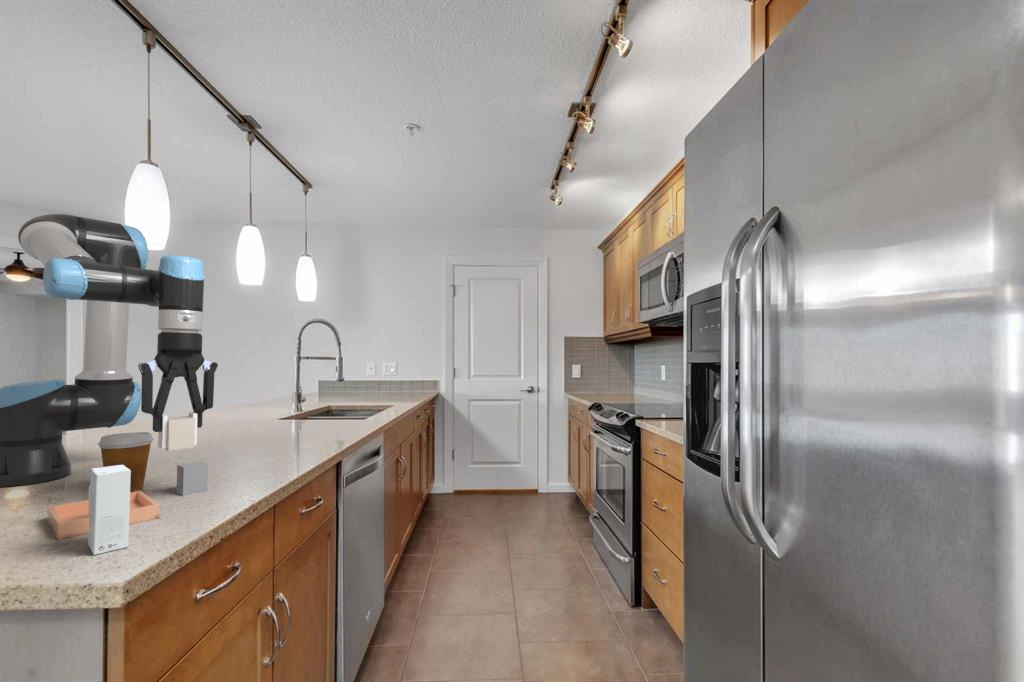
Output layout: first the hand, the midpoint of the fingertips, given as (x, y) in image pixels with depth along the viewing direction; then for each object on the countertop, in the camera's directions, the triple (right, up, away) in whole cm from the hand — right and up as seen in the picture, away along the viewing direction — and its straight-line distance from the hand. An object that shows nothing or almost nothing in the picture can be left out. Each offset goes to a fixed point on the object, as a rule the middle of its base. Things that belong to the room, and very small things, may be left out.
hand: (177, 445), depth 96 cm
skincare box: (+5, -11, -23) cm, 26 cm away
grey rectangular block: (-1, -12, +6) cm, 13 cm away
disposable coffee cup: (-17, -12, +8) cm, 22 cm away
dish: (-6, -11, -11) cm, 16 cm away
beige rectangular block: (0, 0, 0) cm, 0 cm away
